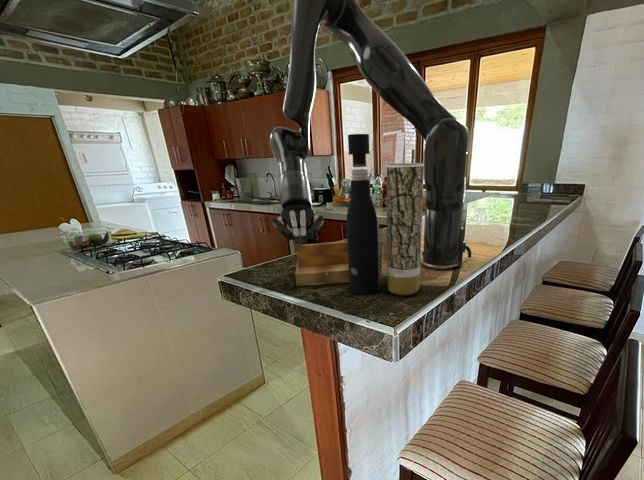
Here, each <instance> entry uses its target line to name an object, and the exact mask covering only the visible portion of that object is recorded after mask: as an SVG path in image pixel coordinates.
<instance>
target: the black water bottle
mask: <svg viewBox="0 0 644 480" xmlns="http://www.w3.org/2000/svg"><path fill="white" fill-rule="evenodd" d="M347 145H348V155H351V156H352V167H353V168H358V169H351V180H350V198H349V203H348V207H347V211H346V212H347V213H346V220H345V221H346V222H345V226H346V241H347V245H348V261H349V277H350V282H349V290H350V292H352V293H353V294H355V295H356V294H357V295H371V294H374V293H377V292H378V291H379V290H380V266H379V265H380V264H379V263H380V261H379V257H380V256H379V221H378V215H377V211H376V207H375V205H374V202H373V199H372V196H371V180H370V179H369V177H370V176H369V170H368V168H366V167H367V155H370V134H369V133H353V134H352V133H351V134H348V135H347ZM359 168H361V169H359ZM362 168H363V169H362ZM364 168H365V169H364Z"/></svg>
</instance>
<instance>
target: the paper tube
mask: <svg viewBox="0 0 644 480" xmlns="http://www.w3.org/2000/svg"><path fill="white" fill-rule="evenodd" d="M424 168H425V164H424V163H423V162H400V163H399V162H397V163H395V162H394V163H387V164H386V250H387V251H386V259H387V260H386V263H387V264H386V269H387V271H386V272H387V290H388V292H389V293H390V294H392V295H395V296H404V297H405V296H411V295H414V294H417V293H418V291H419V290H420V279H421V277H420V275H421V256H422V226H423V223H422V222H423V203H424V200H423V199H424Z"/></svg>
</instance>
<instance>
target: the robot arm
mask: <svg viewBox="0 0 644 480" xmlns="http://www.w3.org/2000/svg"><path fill="white" fill-rule="evenodd" d="M291 2H292V3H291V4H292V5H291V6H292V7H291V9H292V10H291V31H290V32H291V33H290V51H289V53H290V54H289V65H288V66H289V67H288V74H287V81H286V87H285V93H284V100H283V102H282V103H283V105H282V114H283V115H284V117H285V118H287V119H289V121H292V122H293V123H295V124H297V125H298V130H296V129H291V128H288V127H286V126H285V127H284V126H276V127H274V128H273V129H272V130H271V132H270V135H269V145H270V149H271V150H270V151H271V152H272V155H273V158H274V159H275V161H276V163H277V166H278V169H279V170H278V171H279V191H280V192H279V194H280V204H281V211H280V213H279V216H278V217H273V218H272V219H271V220H272V225H273V228H275V229H276V230H277V232H279V233H280V234H281V235H282V236H283V237H284V238H285V239H286V240H288V241H291V240H292V241H294V249H295V251H296V244H301V245H304V244H308V242H307V240H313V239H314V237H316V235H317V234H318V232H319V231H320V230H321V228H322V227H323V225H324V219H325V218H324V216H323V215H317V214H316V212H315V210H314V209H313V203H312V195H311V194H312V193H311V192H312V191H311V186H310V181H309V178H308V170H307V163H306V161H305V160H306V159H307V158H308V157H309V155H310V151H311V137H310V135H311V134H310V126H311V115H312V111H313V105H314V102H315V101H314V100H315V96H316V89H317V72H316V71H317V70H316V42H317V36H318V32H319V28H320V25H323V26H324V27H325V28H327V29H328V30H329V31H330V32H331V33H333V35H334V36H335V37H337V38H338V40H340V41H341V43H342V44H343V45H344V46H345V47H346V48H347V50H348V51H349V53H350V54H351V57H352V58H353V61H354V63H355V65H356V67H357V69H358V71H359V72H360V74H361V76H362V77H363V78H364V80H365V81H366V82H367V84H368V85H369V86H370V87H371V88H372V89H373V91H374V92H375V93H376V94H377V95H378V96H379V97H380V99H382V100H383V101H384V102H385V103H386V104H387V105H388V106H389V107H390V108H392V109H393V110H394V111H395V112H396V113H398V115H400V116H401V117H403V118H404V119H405V120H407V121H408V122H409V123H410V124H411V125H412V126H413V127H414V128H415V129H416V130H417V132H418V133H419V134H420V136H421V137H422V139H423V140H424V141H425V144H424V177H423V182H424V187H425V200H424V201H425V202H424V203H425V204H424V227H423V251H421V256H422V266H424V267H426V268H427V269H432V270H440V271H441V270H442V271H443V270H452V269H455V268H458V267H462V265H463V255H464V254H463V253H466V251H467V258H468V259H471V258H472V250H471V248H470V247H469V246H468V245H467V241H465V234H466V233H465V232H466V230H465V228H464V227H463V220H464V219H463V218H464V206H465V196H466V168H467V156H468V155H467V154H468V153H469V150H470V147H471V143H472V141H471V133H470V131H469V129H468V127H467V126H466V125H465V124H464V123H463V122H461V121H460V120H459V119H458V118H457V117H455V116H454V115H453V114H452V113H451V112H450V111H449V110H448V109H447V108H446V107H445V106H444V105H443V104H442V103H441V102H440V101H439V100H438V99H437V97H436V96H435V95H434V93H432V91H431V89H430V88H429V86H428V85H427V83H426V81H425V80H424V79H423V77H422V76H421V74H420V73H419V71H418V70H417V68H415V66H414V64H413V63H412V62H411V61H410V59H409V58H408V57H407V56H406V54H404V52H403V51H402V49H400V47H399V46H398V45H397V44H396V43H395V42H394V41H393V40H392V39H391V38H390V37H389V35H387V33H386V32H384V30H382V28H380V27H379V25H377V24H376V23H375V22H374V21H372V19H371V18H369V17H368V15H366V13H365V12H364V10H363V9H362V7H361V6H360V4H358V2H357V0H292V1H291ZM312 222H313V223H312ZM284 223H285V224H284ZM289 228H290V229H291V230H292V231H291V230H290V229H289ZM307 229H308V230H307ZM299 230H300V233H299Z"/></svg>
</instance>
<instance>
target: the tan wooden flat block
mask: <svg viewBox="0 0 644 480" xmlns="http://www.w3.org/2000/svg"><path fill="white" fill-rule="evenodd" d="M295 253H296V259H297V260H296V262H297V261H298V267H309V266H319V265H330V264H340V263H349V261H348V245H347V240H342V241H328V242H319V243H317V242H316V243H307V244H304V245H301V244H296V250H295Z"/></svg>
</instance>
